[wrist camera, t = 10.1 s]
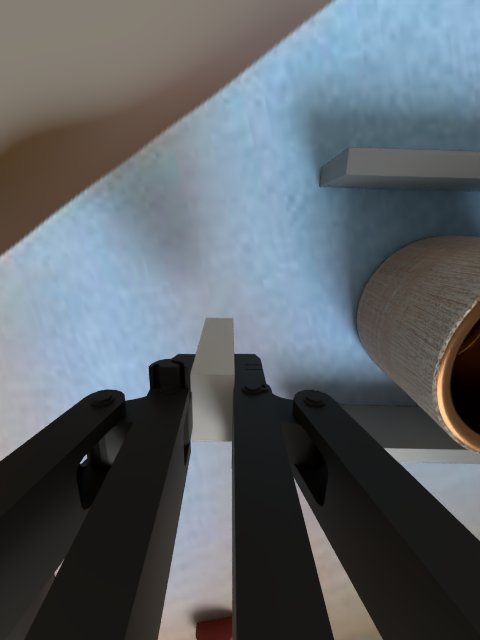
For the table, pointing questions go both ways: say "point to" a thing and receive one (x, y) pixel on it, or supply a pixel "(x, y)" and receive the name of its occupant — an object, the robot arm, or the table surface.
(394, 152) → the box
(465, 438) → the planter
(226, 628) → the dentures
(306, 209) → the table surface
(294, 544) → the robot arm
